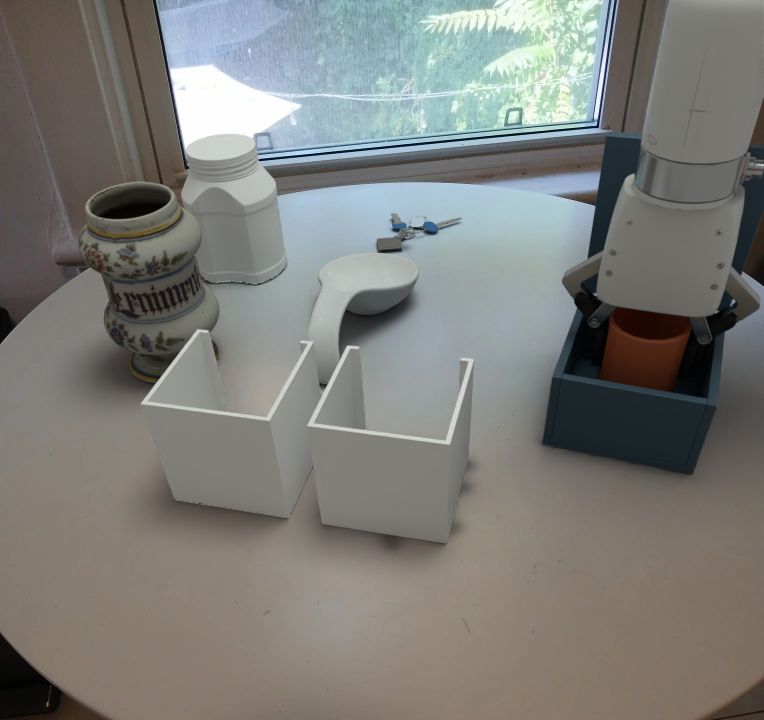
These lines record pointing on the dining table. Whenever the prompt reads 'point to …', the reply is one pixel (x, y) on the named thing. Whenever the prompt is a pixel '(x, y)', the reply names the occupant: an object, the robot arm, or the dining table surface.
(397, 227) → the key chain
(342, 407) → the white double open bin
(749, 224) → the lid
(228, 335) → the dining table surface
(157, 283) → the apothecary jar
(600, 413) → the dark blue box base
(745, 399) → the dining table surface
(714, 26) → the robot arm
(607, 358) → the cup
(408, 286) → the spoon rest
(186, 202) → the jar
